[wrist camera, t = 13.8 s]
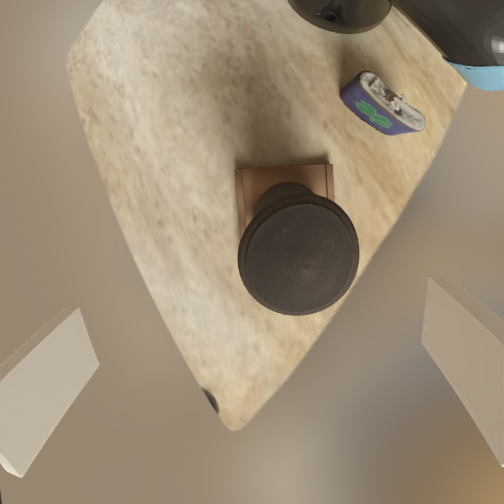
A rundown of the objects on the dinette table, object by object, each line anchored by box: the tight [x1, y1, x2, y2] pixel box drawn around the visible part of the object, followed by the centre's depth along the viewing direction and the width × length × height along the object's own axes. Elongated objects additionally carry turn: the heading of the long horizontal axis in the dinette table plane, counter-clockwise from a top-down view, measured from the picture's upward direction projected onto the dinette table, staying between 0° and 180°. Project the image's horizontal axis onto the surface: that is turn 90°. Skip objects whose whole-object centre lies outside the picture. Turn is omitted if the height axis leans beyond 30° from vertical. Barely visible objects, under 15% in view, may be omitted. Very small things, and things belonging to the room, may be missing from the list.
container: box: [238, 182, 359, 316], centre depth 31 cm, size 9×9×20 cm
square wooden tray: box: [235, 164, 334, 238], centre depth 41 cm, size 12×12×2 cm
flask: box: [340, 71, 425, 136], centre depth 32 cm, size 9×3×11 cm, turn 56°
